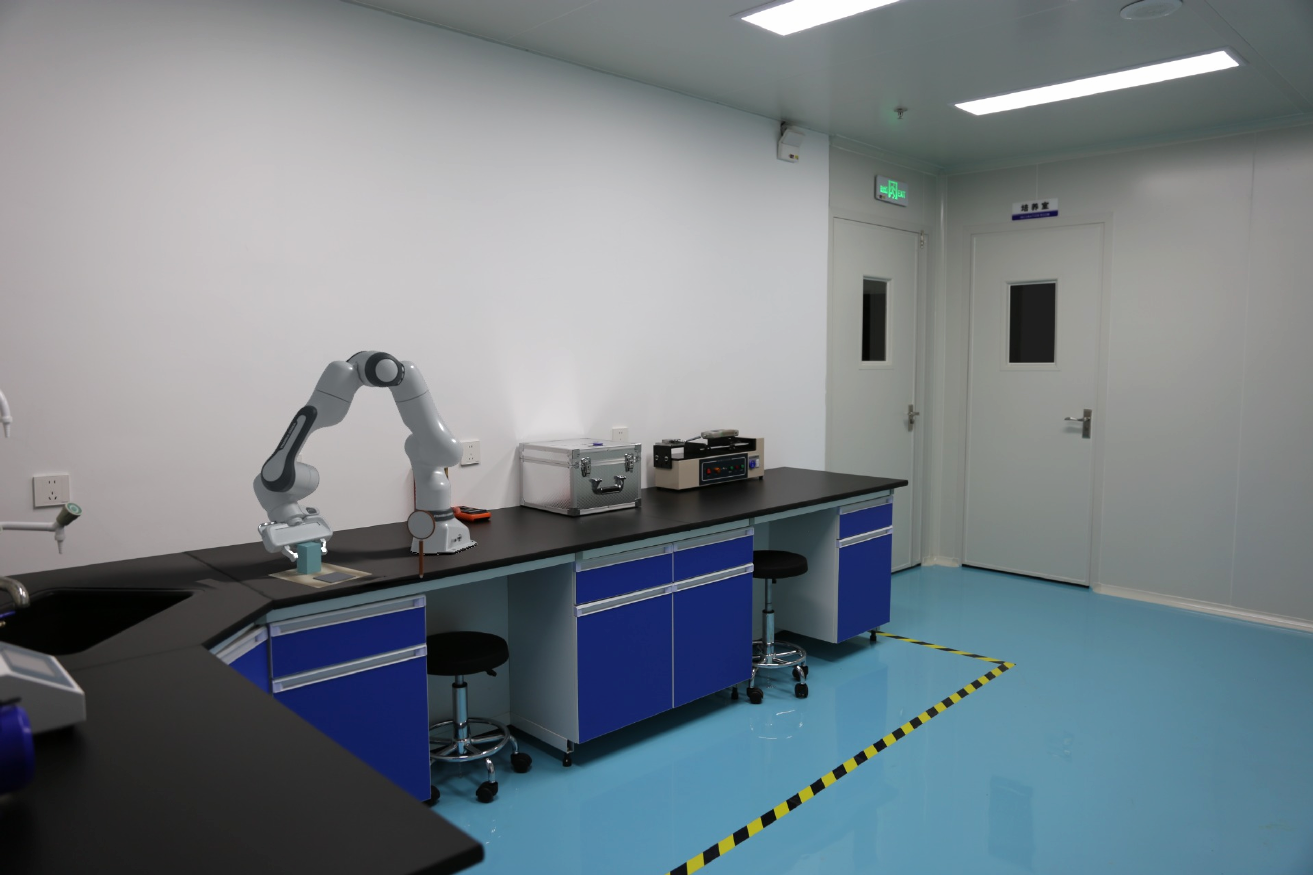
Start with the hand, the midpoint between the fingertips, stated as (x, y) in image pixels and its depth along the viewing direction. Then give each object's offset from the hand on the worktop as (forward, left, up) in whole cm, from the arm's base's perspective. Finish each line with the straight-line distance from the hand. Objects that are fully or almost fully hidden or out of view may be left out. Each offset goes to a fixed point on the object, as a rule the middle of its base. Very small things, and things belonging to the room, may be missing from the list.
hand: (310, 557), depth 240 cm
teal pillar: (0, -1, -4) cm, 4 cm away
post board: (0, +4, -6) cm, 7 cm away
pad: (0, +10, -4) cm, 11 cm away
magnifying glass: (-18, +25, -6) cm, 32 cm away
